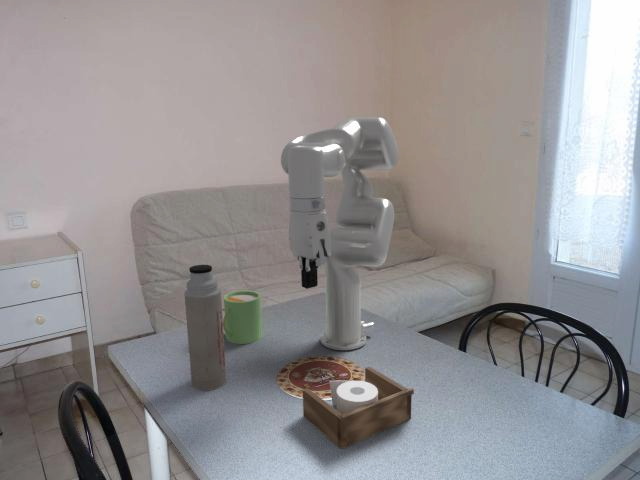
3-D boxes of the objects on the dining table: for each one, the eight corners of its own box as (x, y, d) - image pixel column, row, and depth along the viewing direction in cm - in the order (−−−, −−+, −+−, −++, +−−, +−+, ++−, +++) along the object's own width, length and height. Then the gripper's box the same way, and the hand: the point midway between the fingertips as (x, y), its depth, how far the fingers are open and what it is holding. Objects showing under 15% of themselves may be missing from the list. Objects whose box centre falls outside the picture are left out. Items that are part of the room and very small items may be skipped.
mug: (243, 326, 151) (240, 288, 149) (269, 334, 145) (267, 294, 143) (211, 341, 141) (208, 300, 139) (238, 350, 135) (235, 307, 133)
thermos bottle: (231, 375, 122) (224, 262, 116) (218, 392, 114) (210, 272, 108) (200, 372, 123) (192, 261, 117) (185, 389, 116) (175, 270, 110)
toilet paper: (333, 404, 108) (332, 374, 107) (383, 416, 104) (383, 385, 102) (316, 424, 101) (315, 393, 100) (369, 438, 96) (369, 405, 95)
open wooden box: (369, 391, 113) (369, 363, 112) (413, 419, 102) (413, 389, 101) (303, 416, 104) (302, 386, 102) (343, 450, 93) (343, 417, 91)
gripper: (342, 207, 104) (343, 291, 109) (302, 198, 116) (305, 275, 120) (312, 211, 100) (315, 299, 104) (274, 202, 112) (277, 281, 116)
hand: (309, 286), depth 112 cm, fingers closed
